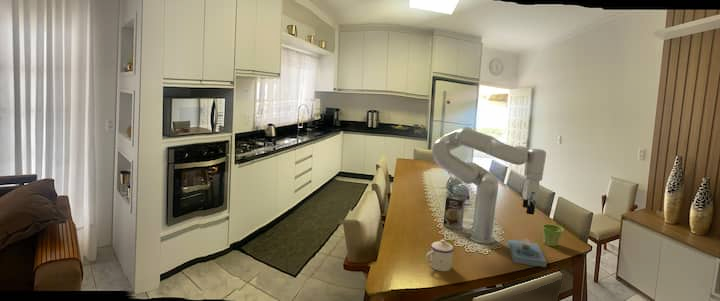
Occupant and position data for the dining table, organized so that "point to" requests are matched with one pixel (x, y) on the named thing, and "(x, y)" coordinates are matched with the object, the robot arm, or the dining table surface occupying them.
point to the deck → (526, 254)
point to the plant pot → (551, 234)
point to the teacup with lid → (440, 256)
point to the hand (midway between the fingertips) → (527, 210)
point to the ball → (526, 243)
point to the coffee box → (454, 212)
